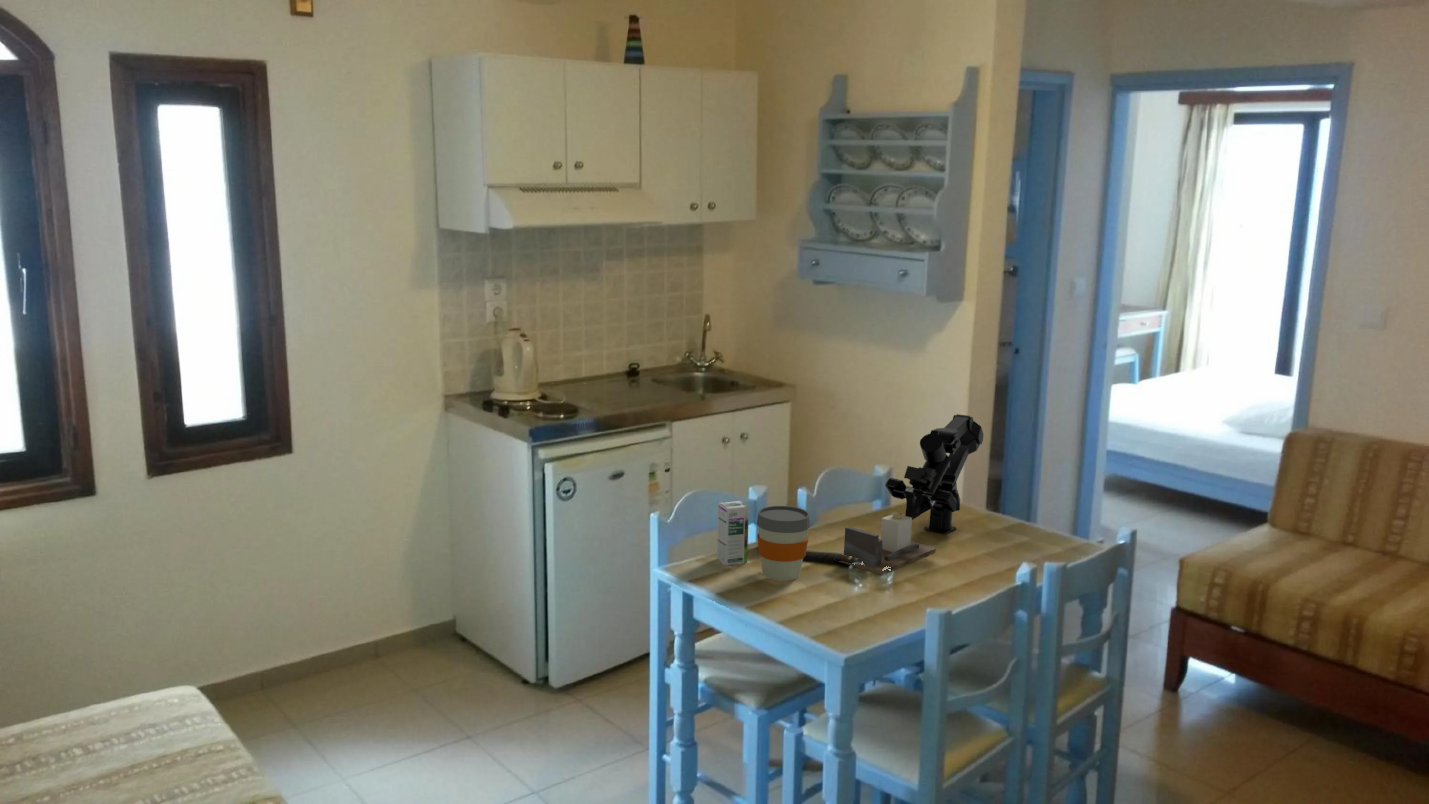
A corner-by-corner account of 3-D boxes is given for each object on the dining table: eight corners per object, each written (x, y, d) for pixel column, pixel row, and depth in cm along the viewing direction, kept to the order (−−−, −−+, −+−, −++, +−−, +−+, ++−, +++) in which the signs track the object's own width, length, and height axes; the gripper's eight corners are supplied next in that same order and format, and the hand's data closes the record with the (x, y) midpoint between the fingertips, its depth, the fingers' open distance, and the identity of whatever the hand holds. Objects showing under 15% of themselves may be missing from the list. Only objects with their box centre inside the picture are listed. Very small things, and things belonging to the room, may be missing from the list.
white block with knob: (893, 543, 279) (895, 508, 277) (910, 547, 276) (912, 513, 274) (880, 548, 275) (882, 513, 273) (896, 553, 271) (899, 518, 269)
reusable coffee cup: (747, 578, 254) (750, 517, 251) (764, 561, 266) (766, 502, 263) (799, 586, 250) (802, 524, 247) (813, 569, 262) (816, 509, 259)
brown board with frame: (889, 538, 286) (891, 505, 284) (935, 551, 276) (938, 518, 275) (834, 560, 268) (836, 525, 267) (881, 575, 259) (884, 538, 257)
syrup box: (726, 566, 262) (727, 508, 259) (716, 558, 267) (717, 501, 265) (747, 563, 264) (749, 506, 261) (737, 555, 270) (739, 499, 267)
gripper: (891, 447, 284) (864, 496, 278) (954, 461, 271) (927, 512, 266) (905, 471, 291) (880, 519, 285) (968, 486, 279) (942, 536, 273)
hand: (906, 521), depth 277 cm, fingers closed
